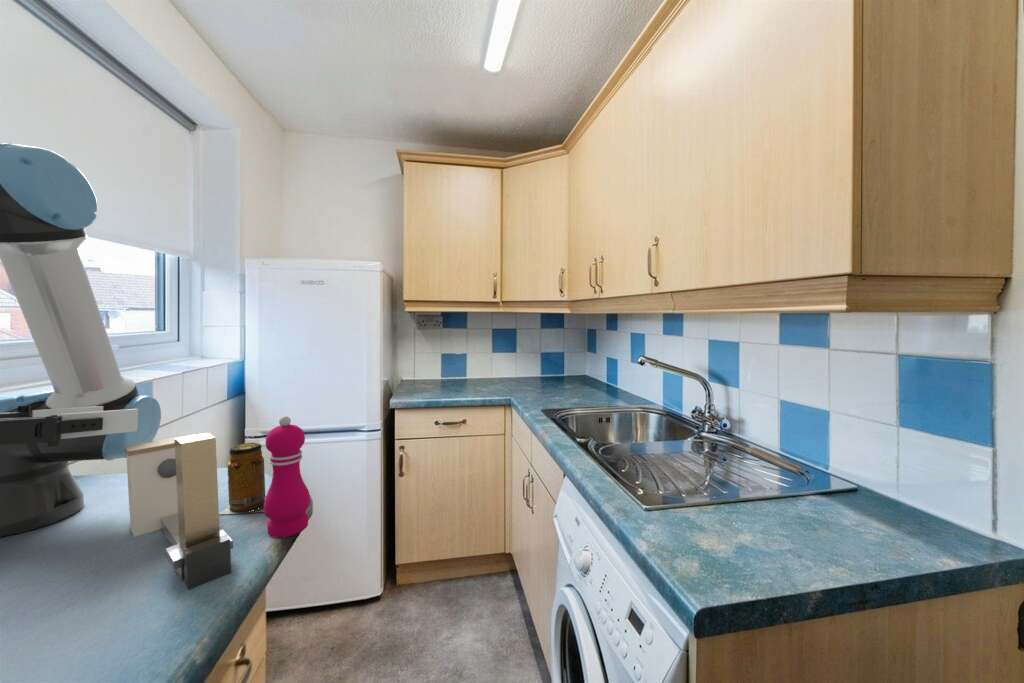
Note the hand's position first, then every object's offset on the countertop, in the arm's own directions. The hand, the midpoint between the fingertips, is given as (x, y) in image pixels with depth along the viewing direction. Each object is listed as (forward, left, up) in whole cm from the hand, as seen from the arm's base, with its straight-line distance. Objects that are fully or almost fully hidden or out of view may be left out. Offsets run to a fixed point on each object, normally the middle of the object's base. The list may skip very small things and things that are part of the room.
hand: (118, 417), depth 54 cm
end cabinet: (-19, +8, -24) cm, 32 cm away
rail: (-6, +8, -24) cm, 26 cm away
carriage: (+2, +8, -24) cm, 25 cm away
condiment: (-15, +20, -24) cm, 35 cm away
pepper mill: (0, +21, -24) cm, 32 cm away
